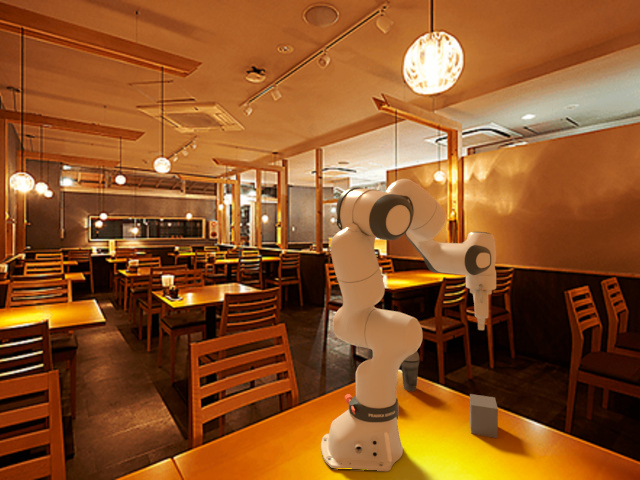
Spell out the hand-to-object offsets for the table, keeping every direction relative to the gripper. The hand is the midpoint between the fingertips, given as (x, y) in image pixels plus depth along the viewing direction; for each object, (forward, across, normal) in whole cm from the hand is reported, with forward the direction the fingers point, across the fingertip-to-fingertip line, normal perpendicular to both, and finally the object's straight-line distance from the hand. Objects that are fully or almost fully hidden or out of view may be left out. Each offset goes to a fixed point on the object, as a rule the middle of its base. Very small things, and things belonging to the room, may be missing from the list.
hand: (480, 325), depth 111 cm
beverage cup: (+29, +9, +24) cm, 39 cm away
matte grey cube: (+29, -9, 0) cm, 30 cm away
